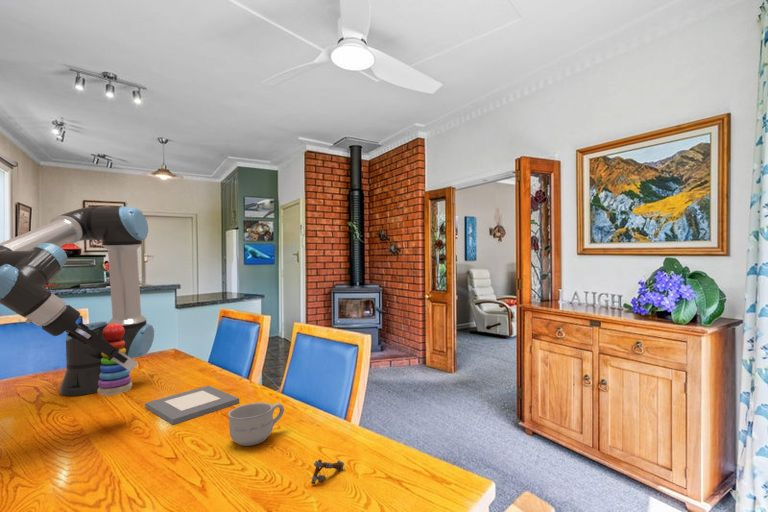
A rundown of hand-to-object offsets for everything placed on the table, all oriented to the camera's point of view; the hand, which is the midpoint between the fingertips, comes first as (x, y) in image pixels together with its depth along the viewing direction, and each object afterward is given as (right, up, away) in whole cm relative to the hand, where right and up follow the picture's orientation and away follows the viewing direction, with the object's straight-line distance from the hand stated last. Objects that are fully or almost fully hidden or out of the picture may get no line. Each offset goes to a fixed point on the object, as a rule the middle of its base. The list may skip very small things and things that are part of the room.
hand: (129, 364), depth 109 cm
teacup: (+40, -16, -11) cm, 44 cm away
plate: (+12, -16, +12) cm, 23 cm away
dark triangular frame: (+61, -16, -28) cm, 69 cm away
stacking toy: (-2, -7, -3) cm, 8 cm away
